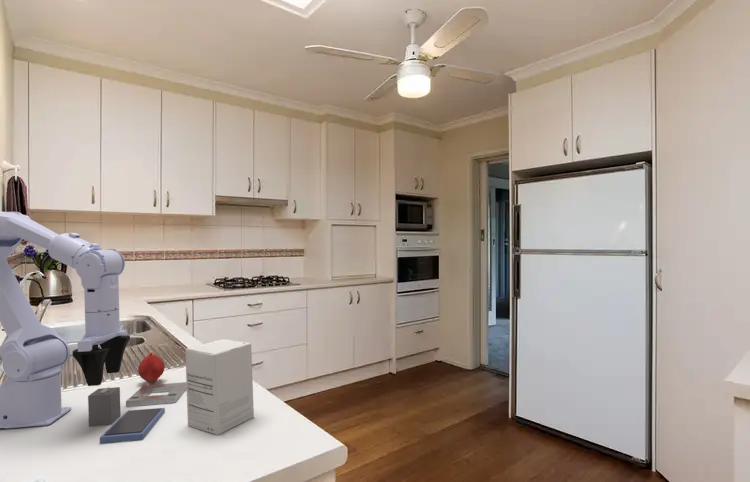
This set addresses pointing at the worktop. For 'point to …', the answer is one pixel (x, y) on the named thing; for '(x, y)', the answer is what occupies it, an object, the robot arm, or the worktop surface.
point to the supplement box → (219, 385)
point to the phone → (132, 426)
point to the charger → (104, 406)
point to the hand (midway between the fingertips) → (104, 378)
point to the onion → (151, 368)
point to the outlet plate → (143, 398)
